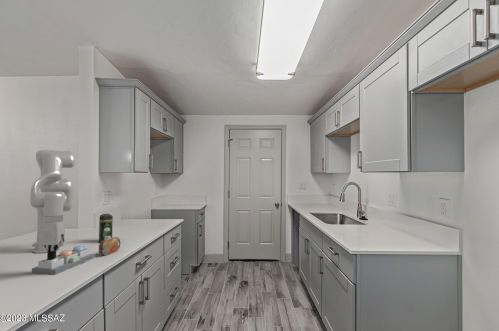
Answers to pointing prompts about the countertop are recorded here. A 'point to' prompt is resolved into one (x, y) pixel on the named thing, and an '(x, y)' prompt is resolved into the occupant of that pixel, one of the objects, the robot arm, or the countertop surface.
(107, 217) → the coffee jar
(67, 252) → the terracotta button
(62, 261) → the button panel
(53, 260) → the green button
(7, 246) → the countertop surface
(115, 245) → the tin
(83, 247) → the slate button
